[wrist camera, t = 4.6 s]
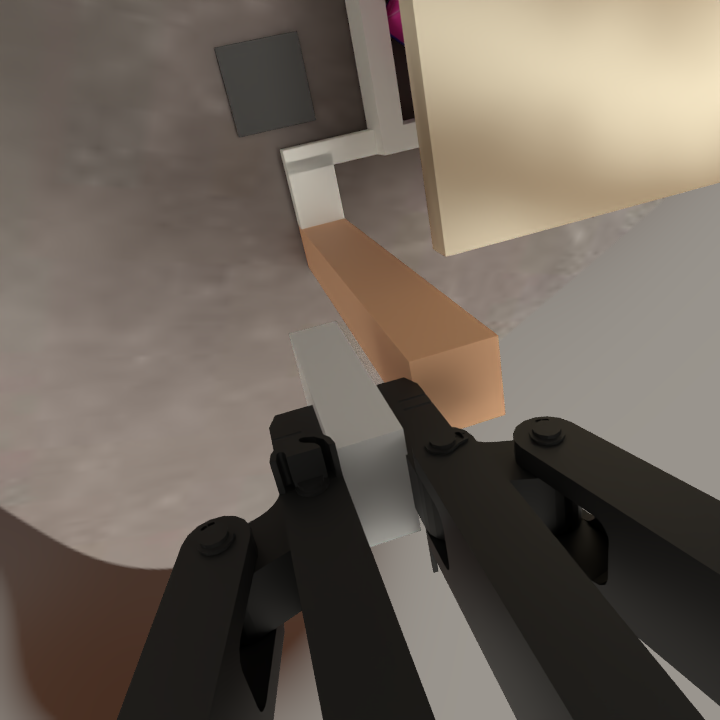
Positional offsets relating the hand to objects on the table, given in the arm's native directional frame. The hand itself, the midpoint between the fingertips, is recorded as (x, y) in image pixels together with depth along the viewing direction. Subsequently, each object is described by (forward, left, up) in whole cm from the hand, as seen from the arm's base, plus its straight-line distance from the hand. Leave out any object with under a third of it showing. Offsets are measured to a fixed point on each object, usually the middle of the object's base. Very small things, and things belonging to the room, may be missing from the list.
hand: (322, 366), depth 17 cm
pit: (-8, +2, -15) cm, 18 cm away
